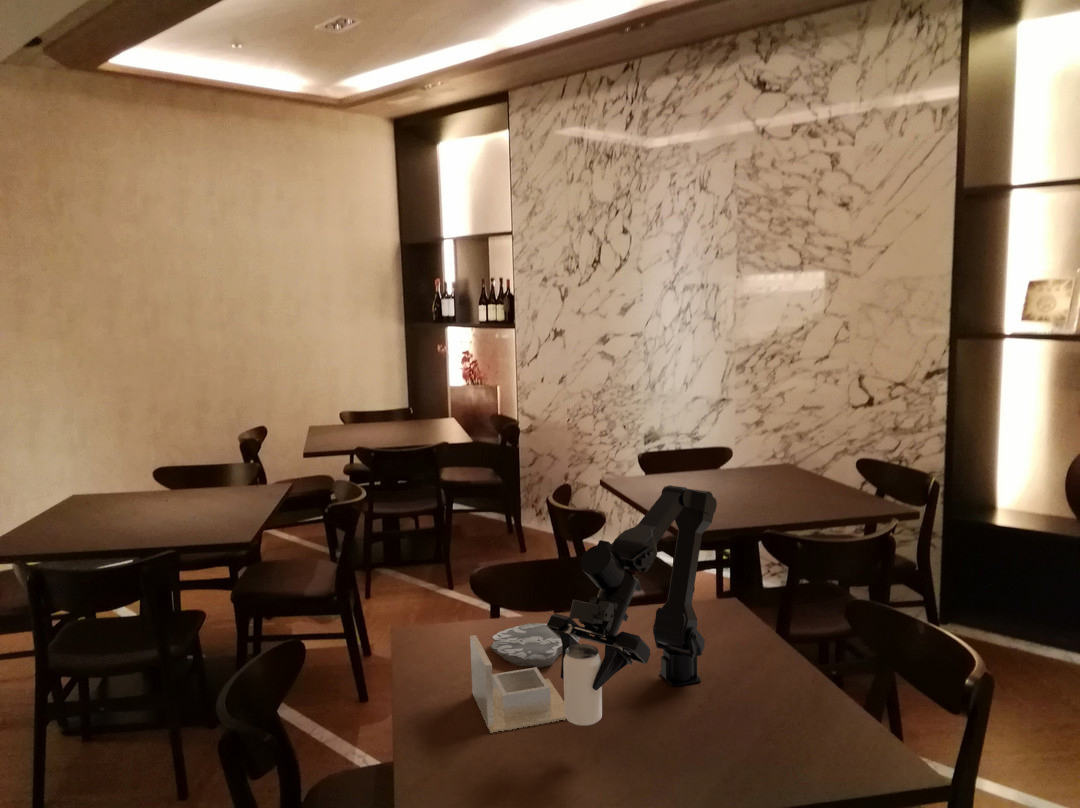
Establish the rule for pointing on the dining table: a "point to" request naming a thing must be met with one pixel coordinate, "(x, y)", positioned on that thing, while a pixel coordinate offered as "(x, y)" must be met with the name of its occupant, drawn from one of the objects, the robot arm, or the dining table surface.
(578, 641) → the robot arm
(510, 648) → the brain slice
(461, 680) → the dining table surface
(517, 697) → the cup bracket
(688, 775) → the dining table surface
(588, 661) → the can
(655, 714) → the dining table surface
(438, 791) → the dining table surface
